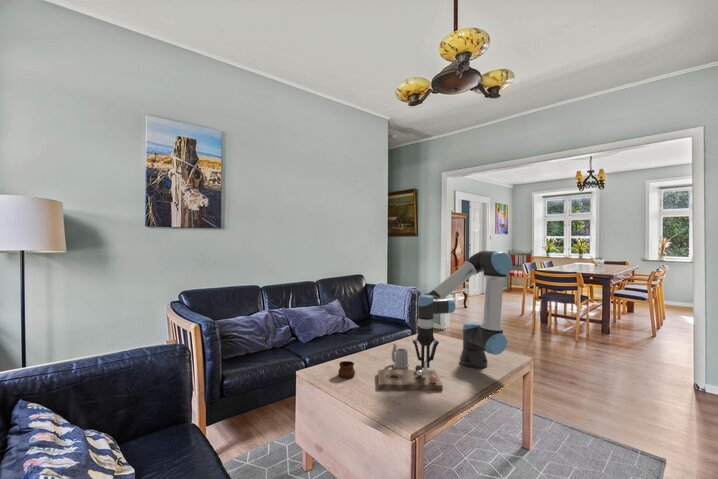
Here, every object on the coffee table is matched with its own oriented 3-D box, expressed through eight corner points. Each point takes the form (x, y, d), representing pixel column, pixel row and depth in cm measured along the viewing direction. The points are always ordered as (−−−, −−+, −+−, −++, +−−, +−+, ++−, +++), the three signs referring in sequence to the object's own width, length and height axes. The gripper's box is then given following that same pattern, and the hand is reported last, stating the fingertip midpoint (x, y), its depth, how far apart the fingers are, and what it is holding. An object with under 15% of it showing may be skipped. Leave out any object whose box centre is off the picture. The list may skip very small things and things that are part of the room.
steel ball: (421, 367, 172) (414, 370, 172) (422, 370, 168) (415, 373, 169) (423, 374, 172) (417, 376, 172) (424, 377, 169) (418, 379, 169)
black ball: (421, 370, 179) (421, 364, 179) (422, 373, 175) (422, 366, 175) (414, 370, 179) (414, 364, 179) (415, 373, 175) (415, 366, 175)
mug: (401, 371, 184) (401, 349, 184) (386, 365, 193) (387, 343, 193) (411, 368, 188) (411, 346, 188) (397, 362, 198) (397, 341, 198)
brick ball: (436, 381, 165) (436, 374, 165) (437, 384, 162) (437, 377, 162) (428, 381, 166) (428, 374, 165) (430, 384, 162) (430, 377, 162)
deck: (435, 375, 179) (435, 370, 179) (442, 390, 161) (442, 385, 161) (377, 374, 180) (377, 369, 180) (378, 389, 162) (378, 384, 162)
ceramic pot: (332, 384, 167) (332, 370, 168) (327, 371, 185) (327, 358, 185) (367, 382, 172) (368, 367, 172) (359, 369, 189) (359, 356, 189)
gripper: (437, 325, 174) (436, 371, 174) (411, 324, 174) (411, 371, 174) (440, 328, 166) (439, 377, 166) (413, 328, 166) (413, 376, 167)
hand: (425, 374), depth 170 cm, fingers closed
